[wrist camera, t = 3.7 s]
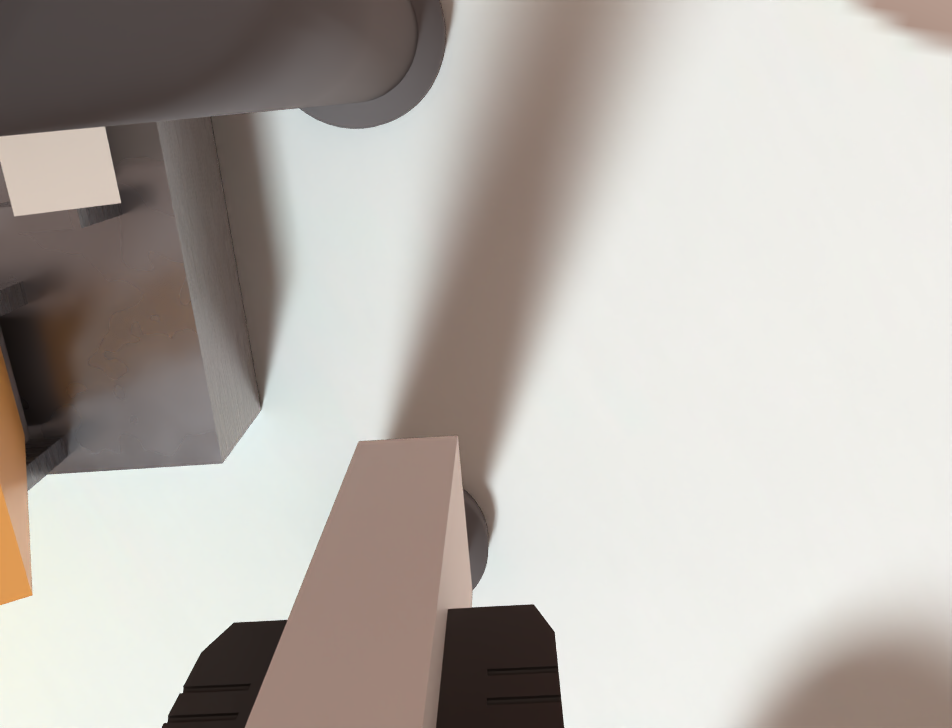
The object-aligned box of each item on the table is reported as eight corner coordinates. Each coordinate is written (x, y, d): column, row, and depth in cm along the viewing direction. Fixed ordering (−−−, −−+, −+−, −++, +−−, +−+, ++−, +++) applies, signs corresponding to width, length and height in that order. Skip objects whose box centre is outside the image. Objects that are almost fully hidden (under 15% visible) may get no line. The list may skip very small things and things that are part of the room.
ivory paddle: (9, 188, 20) (9, 231, 11) (-26, 47, 19) (-55, -19, 10) (81, 180, 21) (131, 215, 12) (50, 44, 20) (81, -21, 11)
